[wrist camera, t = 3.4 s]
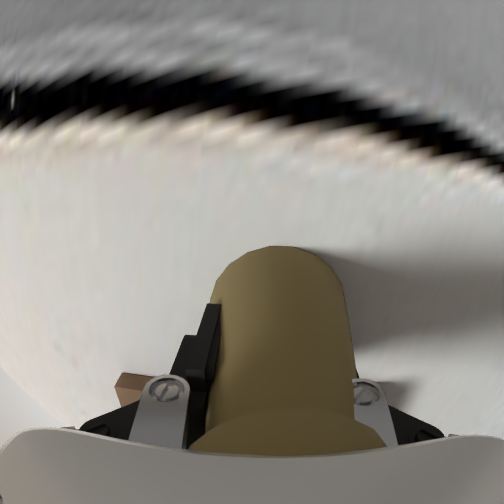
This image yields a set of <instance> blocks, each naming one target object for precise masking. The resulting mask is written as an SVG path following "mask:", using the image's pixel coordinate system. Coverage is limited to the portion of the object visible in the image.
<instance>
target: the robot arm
mask: <svg viewBox="0 0 504 504" xmlns="http://www.w3.org/2000/svg"><path fill="white" fill-rule="evenodd" d="M220 309H221V304H211V303H207V306H206V309H205V312H204V314H203V317H202V320H201V323H200V326H199V329H198V332H197V335H185V336H184V338H183V340H182V343H181V345H180V348H179V351H178V353H177V356H176V358H175V361H174V364H173V366H172V369H171V371H170V374H169V375H161V376H157V377H155V378H153V379H151V380H150V381H149V382H147V383H146V385H145V387H144V389H143V393H142V396H141V399H140V400H138V401H136V402H133V403H131V404H129V405H126V406H124V407H121V408H119V409H116V410H114V411H112V412H109V413H107V414H104V415H101V416H99V417H96V418H94V419H91V420H89V421H87V422H85V423H84V424H83V425H82V426H81V427H80V429H77V430H76V429H75V427H74V426H73V427H63V428H52V427H49V428H48V427H47V428H31V429H26V430H22V431H20V432H18V433H16V434H15V435H13V436H12V437H11V438H10V439H9V440H8V441H7V442H6V443H5V444H4V445H3V446H2V447H1V449H0V504H504V440H503V439H500V438H497V437H493V436H485V435H454V434H449V436H448V437H445V436H444V434H443V433H442V432H441V431H440V430H439V429H437V428H436V427H434V426H432V425H430V424H428V423H425V422H423V421H421V420H419V419H417V418H415V417H412V416H410V415H408V414H406V413H404V412H402V411H400V410H398V409H395V408H393V407H391V406H389V405H388V403H387V400H386V396H385V392H384V390H383V389H382V387H381V386H380V385H379V384H377V383H375V382H374V381H371V380H368V379H361V378H359V376H358V373H357V370H356V374H357V379H352V383H353V384H354V385H355V387H356V388H355V389H354V398H356V404H357V405H356V404H354V416H355V420H356V421H358V422H360V423H362V424H364V425H367V426H369V427H371V428H373V429H375V431H376V432H377V433H378V435H379V436H380V437H381V439H382V440H383V441H384V443H385V444H386V445H387V447H383V448H376V449H368V450H359V451H350V452H343V453H334V454H325V455H306V456H265V455H249V454H231V453H217V452H205V451H195V450H188V448H189V447H190V445H191V444H193V443H194V442H195V441H197V440H198V439H199V438H200V437H202V436H203V435H204V434H205V423H206V405H207V397H208V393H209V391H210V388H211V386H212V383H213V382H214V376H215V370H216V363H217V356H218V350H219V343H220V337H221V324H220Z"/></svg>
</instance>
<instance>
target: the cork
mask: <svg viewBox="0 0 504 504" xmlns="http://www.w3.org/2000/svg"><path fill="white" fill-rule="evenodd" d="M210 303H211V304H221V309H220V324H221V337H220V343H219V350H218V356H217V363H216V370H215V376H214V382H213V383H212V386H211V388H210V391H209V393H208V397H207V405H206V423H205V434H204V435H203V436H202V437H200V438H199V439H198V440H197V441H195V442H194V443H193V444H191V445H190V447H189V448H188V450H195V451H205V452H217V453H231V454H249V455H265V456H306V455H325V454H334V453H343V452H350V451H359V450H368V449H376V448H383V447H387V445H386V444H385V443H384V441H383V440H382V439H381V437H380V436H379V435H378V433H377V432H376V431H375V429H373V428H371V427H369V426H367V425H364V424H362V423H360V422H358V421H356V420H355V416H354V404H356V398H354V389H355V388H356V387H355V385H354V384H353V383H352V379H357V374H356V366H355V359H354V352H353V346H352V340H351V333H350V327H349V322H348V316H347V310H346V305H345V299H344V294H343V289H342V284H341V282H340V281H339V279H338V278H337V276H336V274H335V273H334V271H333V270H332V268H331V267H330V266H329V265H327V264H326V263H325V262H324V261H322V260H321V259H320V258H318V257H317V256H316V255H315V254H312V253H309V252H306V251H304V250H301V249H298V248H295V247H280V246H269V247H265V248H262V249H258V250H254V251H251V252H248V253H246V254H244V255H243V256H241V257H240V258H238V259H237V260H235V261H234V262H232V263H231V264H229V265H228V267H227V268H226V269H225V270H224V272H223V273H222V274H221V276H220V277H219V278H218V279H217V281H216V284H215V287H214V290H213V293H212V296H211V299H210ZM356 405H357V404H356Z"/></svg>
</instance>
